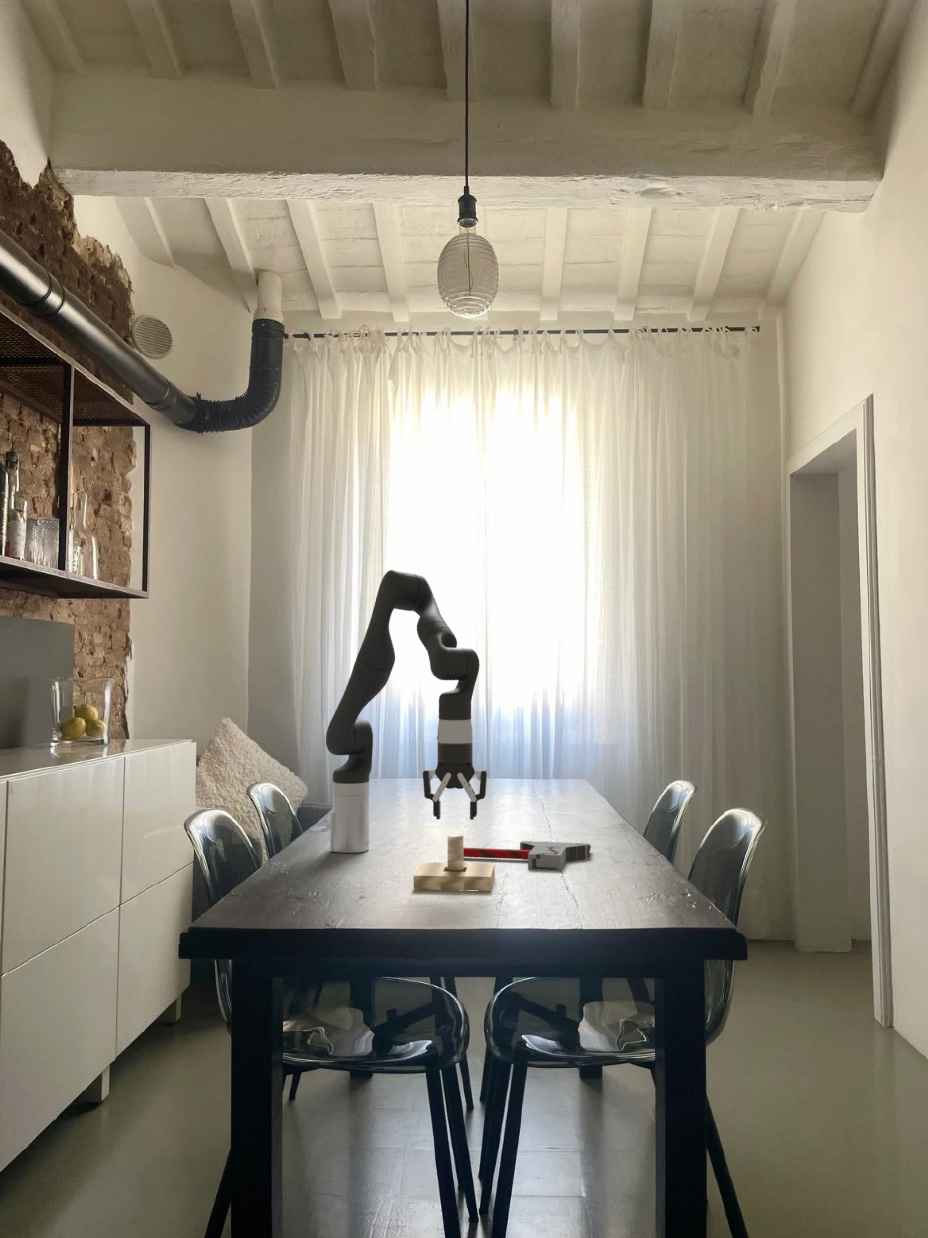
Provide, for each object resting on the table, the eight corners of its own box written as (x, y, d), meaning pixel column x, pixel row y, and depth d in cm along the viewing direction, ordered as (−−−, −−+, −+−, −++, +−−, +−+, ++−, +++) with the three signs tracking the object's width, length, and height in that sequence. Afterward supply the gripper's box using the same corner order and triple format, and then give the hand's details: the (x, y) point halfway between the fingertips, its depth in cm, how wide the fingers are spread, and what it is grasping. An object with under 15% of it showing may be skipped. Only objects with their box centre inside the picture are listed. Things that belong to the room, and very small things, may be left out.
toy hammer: (473, 834, 247) (590, 838, 240) (473, 849, 247) (590, 853, 240) (452, 851, 223) (581, 856, 217) (452, 867, 223) (581, 873, 217)
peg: (446, 885, 202) (446, 837, 203) (448, 882, 206) (448, 834, 206) (463, 885, 202) (463, 837, 203) (464, 882, 206) (464, 835, 206)
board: (413, 890, 198) (413, 875, 198) (422, 876, 212) (422, 862, 212) (491, 891, 196) (491, 876, 196) (494, 877, 210) (494, 863, 210)
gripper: (489, 739, 209) (489, 817, 208) (423, 739, 210) (423, 816, 209) (487, 742, 201) (487, 822, 200) (419, 741, 203) (419, 821, 202)
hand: (455, 818), depth 205 cm, fingers open, 6 cm apart
